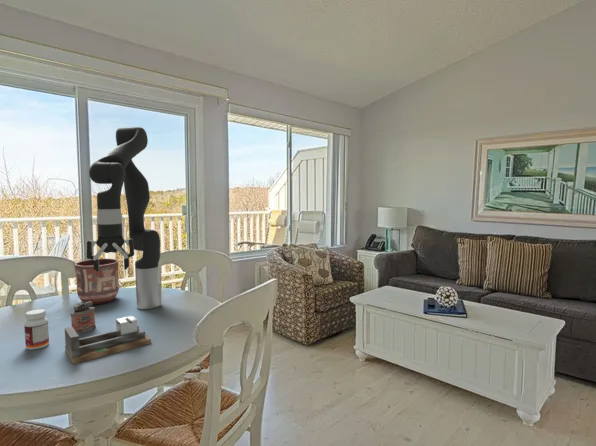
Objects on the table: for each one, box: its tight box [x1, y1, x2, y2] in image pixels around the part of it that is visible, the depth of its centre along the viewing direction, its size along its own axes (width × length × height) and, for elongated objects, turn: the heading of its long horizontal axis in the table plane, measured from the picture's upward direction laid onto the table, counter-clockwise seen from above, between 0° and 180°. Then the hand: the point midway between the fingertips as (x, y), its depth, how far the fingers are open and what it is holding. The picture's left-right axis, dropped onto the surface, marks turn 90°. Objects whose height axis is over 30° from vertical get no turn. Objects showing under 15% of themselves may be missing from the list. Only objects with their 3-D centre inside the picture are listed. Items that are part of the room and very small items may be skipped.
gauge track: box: [64, 324, 152, 365], centre depth 116 cm, size 22×12×8 cm, turn 131°
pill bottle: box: [23, 308, 50, 350], centre depth 117 cm, size 6×6×11 cm
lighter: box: [69, 301, 97, 335], centre depth 130 cm, size 8×3×10 cm, turn 148°
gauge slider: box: [115, 315, 138, 337], centre depth 119 cm, size 5×7×6 cm
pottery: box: [74, 258, 120, 306], centre depth 165 cm, size 18×18×18 cm
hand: (111, 270), depth 124 cm, fingers open, 8 cm apart
